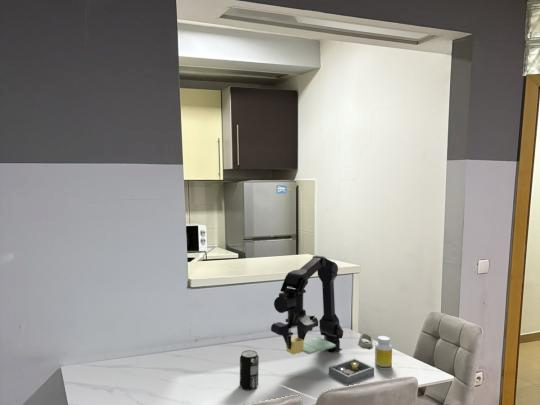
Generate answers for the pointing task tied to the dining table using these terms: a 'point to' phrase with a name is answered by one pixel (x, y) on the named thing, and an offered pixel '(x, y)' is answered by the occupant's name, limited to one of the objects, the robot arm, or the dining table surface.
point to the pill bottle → (383, 353)
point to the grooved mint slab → (309, 345)
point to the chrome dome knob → (341, 369)
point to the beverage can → (249, 370)
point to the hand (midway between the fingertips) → (294, 347)
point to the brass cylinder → (354, 366)
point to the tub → (362, 373)
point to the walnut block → (348, 372)
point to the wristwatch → (362, 343)
